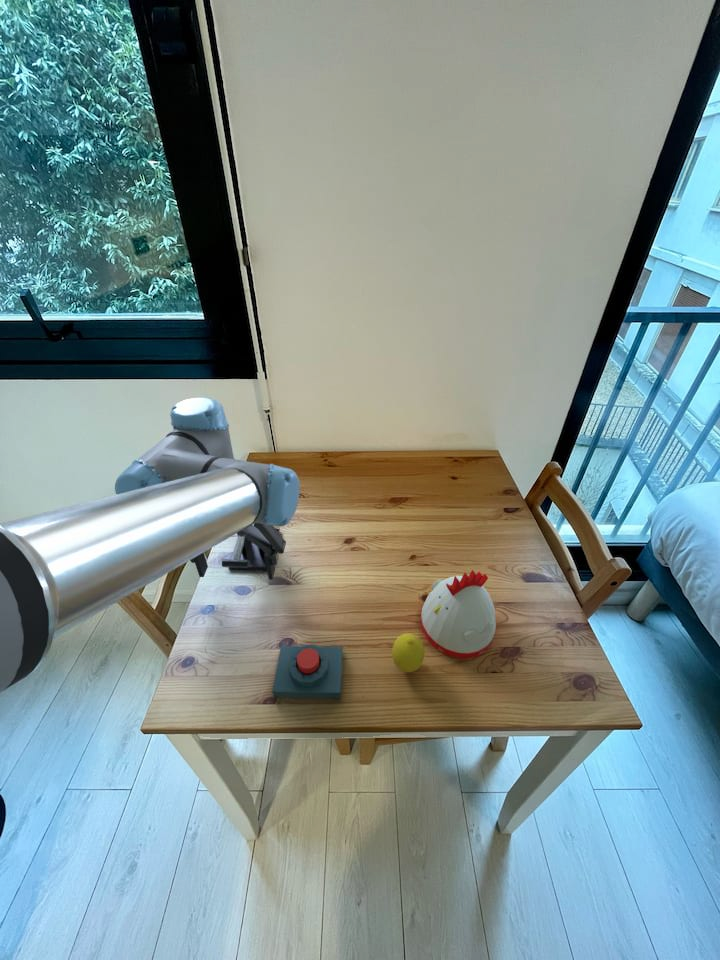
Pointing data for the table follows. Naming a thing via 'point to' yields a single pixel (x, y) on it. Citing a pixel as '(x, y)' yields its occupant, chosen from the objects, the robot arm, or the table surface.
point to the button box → (309, 685)
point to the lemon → (408, 652)
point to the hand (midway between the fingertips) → (237, 573)
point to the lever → (237, 556)
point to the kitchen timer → (459, 616)
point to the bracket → (252, 556)
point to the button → (308, 661)
